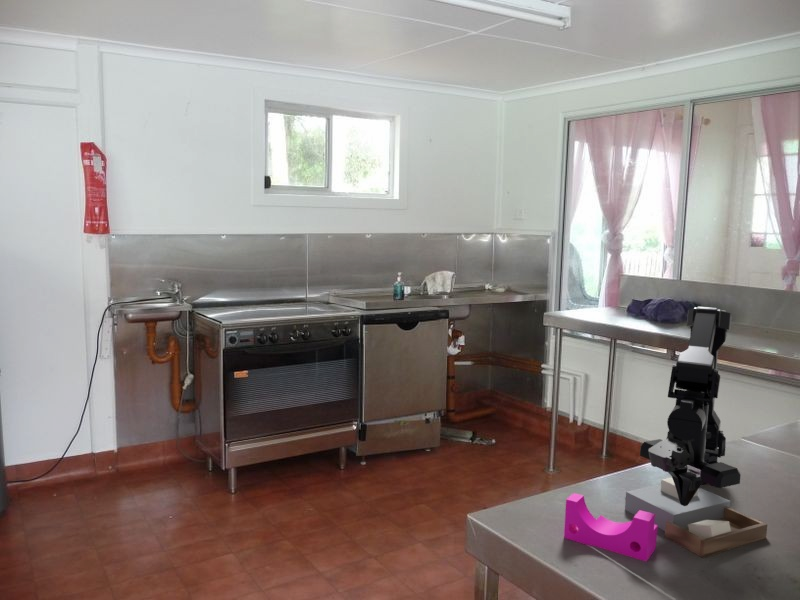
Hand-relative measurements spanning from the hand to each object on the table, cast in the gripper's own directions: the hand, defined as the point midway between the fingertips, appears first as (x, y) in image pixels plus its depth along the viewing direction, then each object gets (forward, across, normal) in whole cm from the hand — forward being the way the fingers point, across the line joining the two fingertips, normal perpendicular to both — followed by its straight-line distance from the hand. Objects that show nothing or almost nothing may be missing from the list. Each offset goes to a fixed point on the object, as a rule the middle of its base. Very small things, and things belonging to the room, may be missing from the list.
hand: (684, 505), depth 130 cm
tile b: (+1, -6, +6) cm, 9 cm away
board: (+5, -5, +5) cm, 9 cm away
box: (+5, +5, +3) cm, 8 cm away
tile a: (+1, +5, 0) cm, 5 cm away
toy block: (+6, -2, -16) cm, 17 cm away
